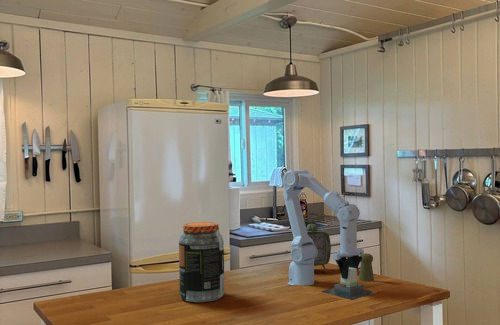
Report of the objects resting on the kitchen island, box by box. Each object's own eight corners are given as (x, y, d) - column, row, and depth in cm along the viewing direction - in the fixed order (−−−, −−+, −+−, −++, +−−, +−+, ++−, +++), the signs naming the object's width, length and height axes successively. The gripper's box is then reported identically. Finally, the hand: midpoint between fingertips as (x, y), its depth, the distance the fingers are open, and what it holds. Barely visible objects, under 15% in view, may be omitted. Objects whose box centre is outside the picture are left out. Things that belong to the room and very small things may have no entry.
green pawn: (374, 284, 190) (374, 255, 189) (358, 283, 191) (358, 255, 191) (373, 280, 196) (373, 252, 195) (358, 279, 197) (358, 252, 197)
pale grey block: (340, 286, 176) (340, 268, 176) (348, 284, 179) (347, 266, 179) (349, 289, 173) (349, 270, 173) (357, 286, 175) (357, 268, 175)
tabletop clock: (296, 274, 207) (295, 214, 207) (294, 269, 216) (293, 211, 216) (331, 273, 207) (330, 214, 207) (327, 268, 216) (327, 211, 216)
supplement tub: (232, 294, 178) (232, 222, 177) (208, 306, 164) (207, 228, 164) (196, 289, 185) (195, 219, 185) (170, 300, 171) (169, 225, 171)
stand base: (320, 294, 177) (320, 282, 177) (346, 287, 186) (346, 275, 186) (351, 303, 166) (351, 290, 166) (377, 295, 175) (377, 283, 175)
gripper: (343, 243, 168) (344, 282, 168) (370, 238, 177) (370, 276, 177) (328, 240, 173) (328, 279, 173) (354, 235, 182) (354, 272, 183)
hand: (348, 277), depth 176 cm, fingers closed on pale grey block, 4 cm apart
